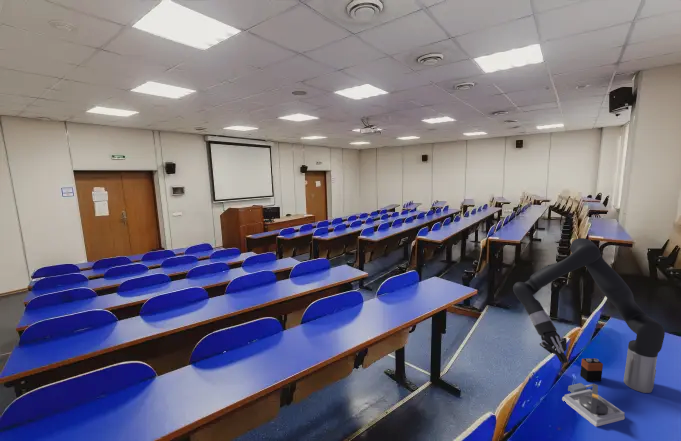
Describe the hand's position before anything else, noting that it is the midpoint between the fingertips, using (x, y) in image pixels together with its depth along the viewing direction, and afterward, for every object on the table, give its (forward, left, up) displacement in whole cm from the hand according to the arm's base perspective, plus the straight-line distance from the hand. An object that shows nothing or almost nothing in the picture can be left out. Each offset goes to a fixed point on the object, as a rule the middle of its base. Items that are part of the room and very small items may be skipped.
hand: (565, 362), depth 127 cm
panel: (-5, +9, -16) cm, 19 cm away
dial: (-4, +10, -14) cm, 18 cm away
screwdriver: (-12, -1, -16) cm, 21 cm away
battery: (-23, -6, -16) cm, 29 cm away
